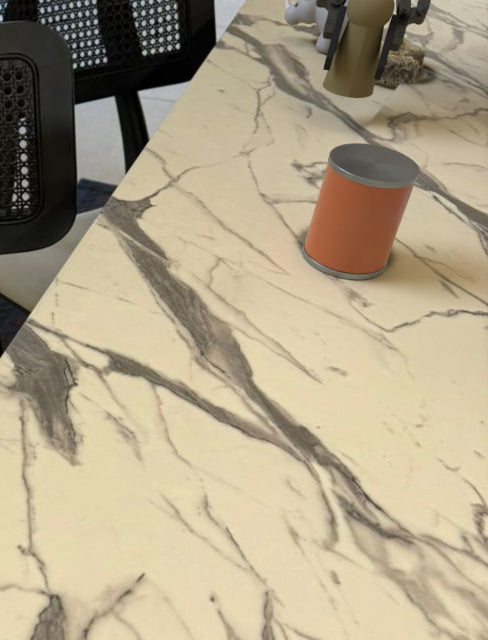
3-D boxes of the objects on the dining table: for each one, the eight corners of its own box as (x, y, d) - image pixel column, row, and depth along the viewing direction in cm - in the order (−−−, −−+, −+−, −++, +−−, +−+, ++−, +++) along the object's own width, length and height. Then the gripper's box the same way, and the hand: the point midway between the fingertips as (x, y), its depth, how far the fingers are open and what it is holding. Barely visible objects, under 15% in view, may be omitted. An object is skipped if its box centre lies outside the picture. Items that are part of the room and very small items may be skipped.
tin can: (394, 253, 102) (428, 158, 96) (373, 289, 97) (408, 191, 90) (315, 229, 105) (343, 135, 98) (290, 262, 99) (318, 165, 93)
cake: (351, 86, 138) (360, 45, 134) (357, 63, 145) (365, 23, 141) (429, 94, 135) (440, 52, 132) (431, 71, 142) (441, 30, 139)
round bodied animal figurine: (285, 30, 151) (300, -32, 146) (364, 49, 148) (383, -14, 142) (270, 43, 147) (285, -20, 141) (352, 63, 143) (371, -1, 137)
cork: (331, 75, 126) (356, -20, 119) (379, 87, 124) (408, -9, 117) (315, 89, 122) (341, -9, 115) (365, 102, 120) (394, 3, 113)
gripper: (478, -86, 121) (426, 99, 120) (324, -109, 125) (272, 70, 124) (496, -129, 114) (441, 68, 113) (331, -152, 118) (277, 38, 117)
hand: (353, 68), depth 118 cm, fingers closed on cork, 5 cm apart
